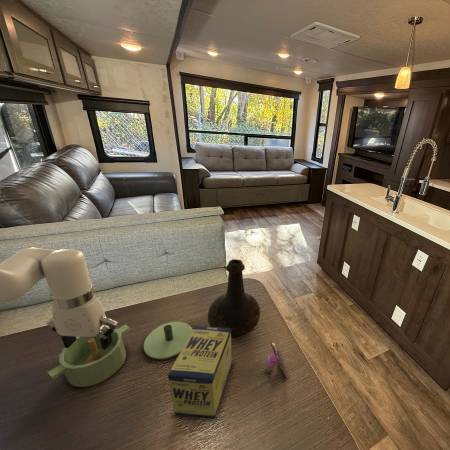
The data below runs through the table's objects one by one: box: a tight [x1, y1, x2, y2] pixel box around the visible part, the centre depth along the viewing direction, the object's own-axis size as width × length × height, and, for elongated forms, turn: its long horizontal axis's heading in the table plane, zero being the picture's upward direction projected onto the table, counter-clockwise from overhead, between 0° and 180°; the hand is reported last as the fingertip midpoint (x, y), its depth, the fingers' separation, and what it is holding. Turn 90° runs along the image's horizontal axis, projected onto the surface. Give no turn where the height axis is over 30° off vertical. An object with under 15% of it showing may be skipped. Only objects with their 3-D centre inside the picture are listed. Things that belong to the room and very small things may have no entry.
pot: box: [46, 324, 131, 388], centre depth 71 cm, size 14×19×8 cm
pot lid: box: [143, 321, 193, 360], centre depth 81 cm, size 15×15×6 cm
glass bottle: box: [207, 258, 261, 340], centre depth 84 cm, size 18×18×28 cm
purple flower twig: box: [266, 341, 287, 379], centre depth 75 cm, size 7×5×9 cm
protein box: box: [167, 324, 233, 420], centre depth 66 cm, size 10×16×16 cm
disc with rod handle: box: [86, 338, 108, 364], centre depth 71 cm, size 5×5×9 cm
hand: (89, 344), depth 69 cm, fingers open, 9 cm apart
